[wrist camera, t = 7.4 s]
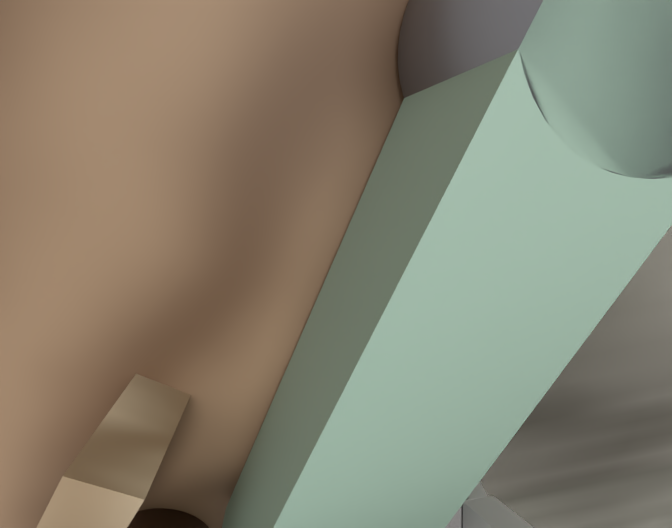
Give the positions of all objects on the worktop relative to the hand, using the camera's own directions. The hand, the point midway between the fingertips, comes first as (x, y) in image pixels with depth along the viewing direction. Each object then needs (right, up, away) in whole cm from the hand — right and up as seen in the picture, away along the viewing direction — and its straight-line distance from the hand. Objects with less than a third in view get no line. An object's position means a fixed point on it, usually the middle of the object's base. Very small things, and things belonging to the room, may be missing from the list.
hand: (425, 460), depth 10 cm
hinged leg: (-2, +5, -1) cm, 5 cm away
